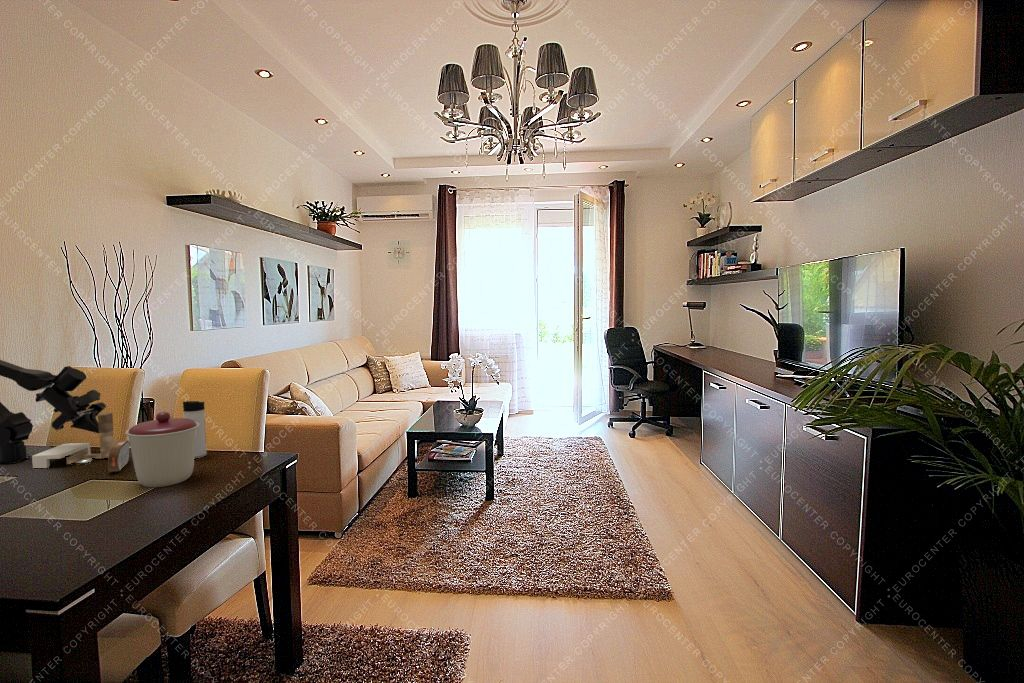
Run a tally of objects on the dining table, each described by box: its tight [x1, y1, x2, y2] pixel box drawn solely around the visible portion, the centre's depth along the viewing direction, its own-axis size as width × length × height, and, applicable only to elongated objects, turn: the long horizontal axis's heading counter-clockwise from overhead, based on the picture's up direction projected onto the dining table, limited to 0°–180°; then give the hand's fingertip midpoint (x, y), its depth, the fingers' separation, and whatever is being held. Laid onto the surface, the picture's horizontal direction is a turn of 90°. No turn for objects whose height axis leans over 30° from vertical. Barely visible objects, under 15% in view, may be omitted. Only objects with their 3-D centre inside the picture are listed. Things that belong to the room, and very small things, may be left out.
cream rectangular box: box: [31, 442, 92, 469], centre depth 168 cm, size 8×14×4 cm, turn 8°
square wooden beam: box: [65, 412, 115, 465], centre depth 168 cm, size 9×9×15 cm
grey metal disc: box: [74, 458, 93, 464], centre depth 167 cm, size 4×4×1 cm
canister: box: [124, 411, 200, 488], centre depth 150 cm, size 18×18×21 cm
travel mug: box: [182, 400, 208, 458], centre depth 173 cm, size 6×7×20 cm
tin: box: [107, 439, 131, 473], centre depth 162 cm, size 15×3×8 cm, turn 25°
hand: (100, 432), depth 171 cm, fingers closed
